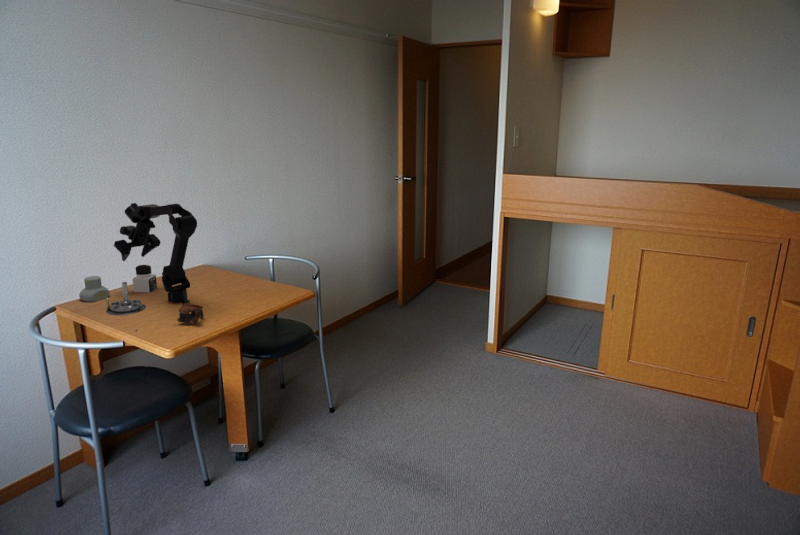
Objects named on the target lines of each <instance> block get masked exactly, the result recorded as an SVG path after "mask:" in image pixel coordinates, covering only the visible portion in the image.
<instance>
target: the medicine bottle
mask: <svg viewBox="0 0 800 535" xmlns="http://www.w3.org/2000/svg"><path fill="white" fill-rule="evenodd" d="M135 275H136V276H135V277H133V278H132V287H133V292H134V293H152V292H153V291H155V290H156V289H158V282H157V275H156V274H152V267H151V265H150V264H140V265H137V266H136V267H135Z"/></svg>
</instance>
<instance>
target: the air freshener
mask: <svg viewBox="0 0 800 535" xmlns="http://www.w3.org/2000/svg"><path fill="white" fill-rule="evenodd" d="M109 296H110V290H109V289H108V288H107V287H105V286H103V285H102V279H101V277H100V276H99V275H91V276H86V277H84V288H83V289H82V290H81V291H79V296H78V297H79V299H80V300H82V301H83V302H87V303H91V302H93V303H94V302H98V301H102V300H105V298H109Z"/></svg>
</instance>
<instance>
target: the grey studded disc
mask: <svg viewBox="0 0 800 535" xmlns="http://www.w3.org/2000/svg"><path fill="white" fill-rule="evenodd" d="M121 292H122V300H120V301H117V300H113V301H111V303H110V309H111V311H112V312H114V313H128V312H133V311H136V310H139V309H140V308H141V307H142V304H143V303H142V302H141V299H139V298H135V299H129V298H130V297H129V288H128V281H122V282H121Z"/></svg>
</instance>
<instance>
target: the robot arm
mask: <svg viewBox="0 0 800 535" xmlns="http://www.w3.org/2000/svg"><path fill="white" fill-rule="evenodd" d="M124 214H125V216H126V217H127V218H128V219H129V220H130V221H131V223H133V224H136V225H126V226H125V225H124V226H120V229H119V233H120V234H121V235H123V236H127V238H128V240H130V242H127V240H125V239H120V240H115V241H114V244H113V247H114V248H115V249H116V250H117V251H118V253H120V255H121V260H122V261H123V262H126V260H127V259H128V257H129V256H130V254H131V252H132V248H137V247H142V250H141V254H140V255H141V257H142V258H143V257H145V256H147V255H148V254H149V253H150V252H152V251H153V250H155V249H156V248H158V247H160V246H161V239H159V237H157V235H155V233H151V234H150V232H151V229H155V228H156V224H154V221H152V220H151V219H156V218H159V217H160V216H164V215H168V222H169V224H170V225H171V226H172V231H173V233H174V234H175V237H174V242H173V246H172V250H171V251H172V253H171V257H170V260H169V264H167V265H165V266H163V268H162V273H161V276H162V277H161V282H162V285H163V287H164V291H166V292H167V300H168V302H169V303H172V304H181V303H182V304H185V303H188V304H189V302H190V299H188V291H187V289H189V288H190V287H191V282H190V280H189V279H188V277H187V276H186V271H185V269H184V263H185V259H186V258H185V257H186V254H187V253H186V252H187V249H188V244H189V240H190V238H191V237H192V236H193V234H195V233H196V230H197V226H198V220H197V219H196V217H195V216H194V215H193V213H192V212H190V211H189V210H187V209H185V208H184V207H182V205H181V204H179V203H169V204H165V205H158V204H155V203H154V204H153V203H152V204H145V205H138V203H136V202H132V203H131V204H130V205H129V206H128V207H126V208H125V209H124ZM174 215H179V216H178V217H175V216H174Z"/></svg>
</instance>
